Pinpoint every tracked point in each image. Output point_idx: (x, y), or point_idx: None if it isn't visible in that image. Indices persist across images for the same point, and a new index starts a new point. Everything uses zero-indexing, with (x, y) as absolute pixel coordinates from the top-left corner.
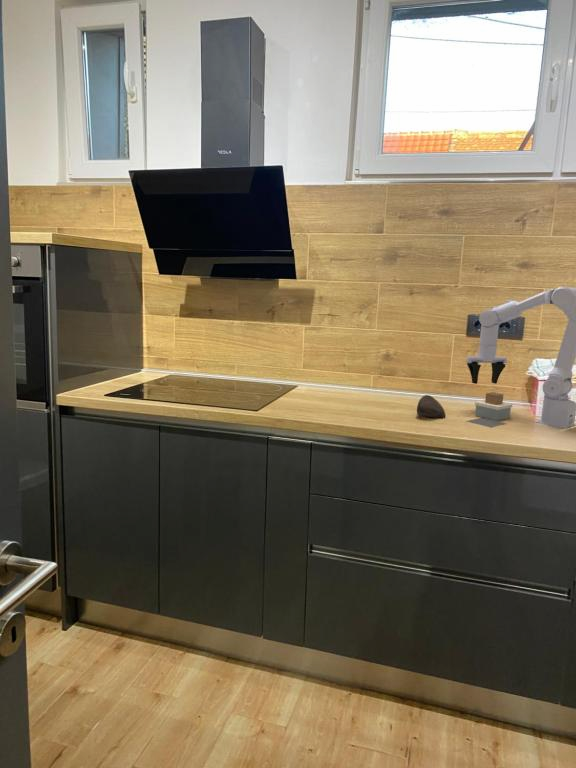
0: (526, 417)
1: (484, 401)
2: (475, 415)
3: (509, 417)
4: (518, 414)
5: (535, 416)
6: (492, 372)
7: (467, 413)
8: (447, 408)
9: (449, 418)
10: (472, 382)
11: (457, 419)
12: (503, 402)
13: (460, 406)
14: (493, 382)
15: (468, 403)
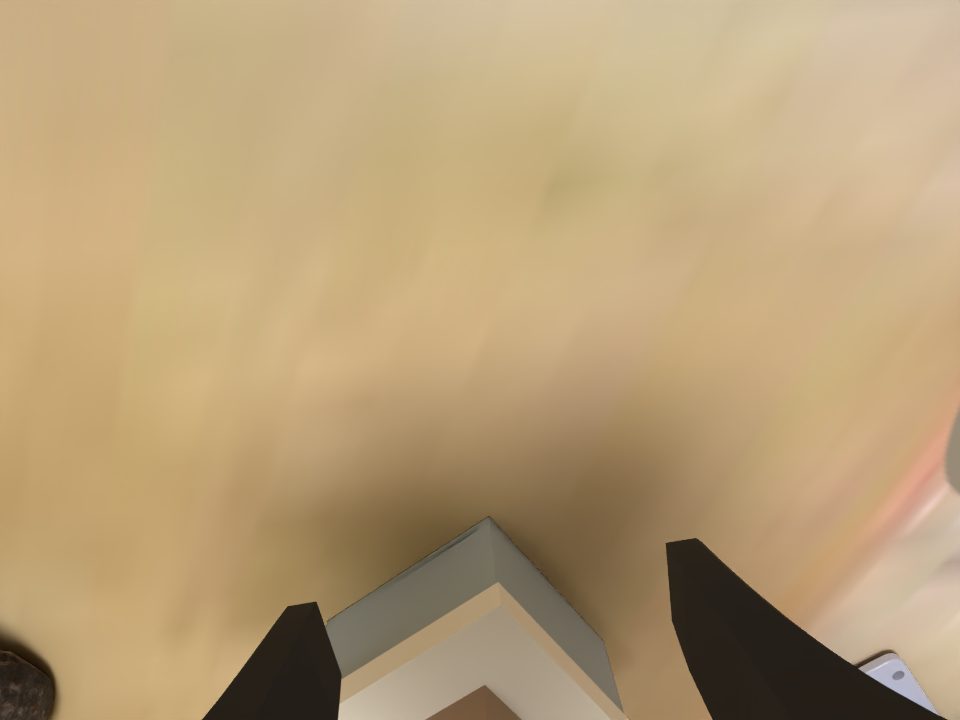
0: (783, 583)
1: (402, 698)
2: (327, 632)
3: (604, 651)
4: (781, 495)
5: (893, 542)
6: (754, 674)
7: (292, 523)
8: (123, 347)
9: (93, 693)
10: (285, 620)
11: (155, 710)
12: (594, 707)
13: (300, 222)
14: (673, 593)
15: (464, 12)
